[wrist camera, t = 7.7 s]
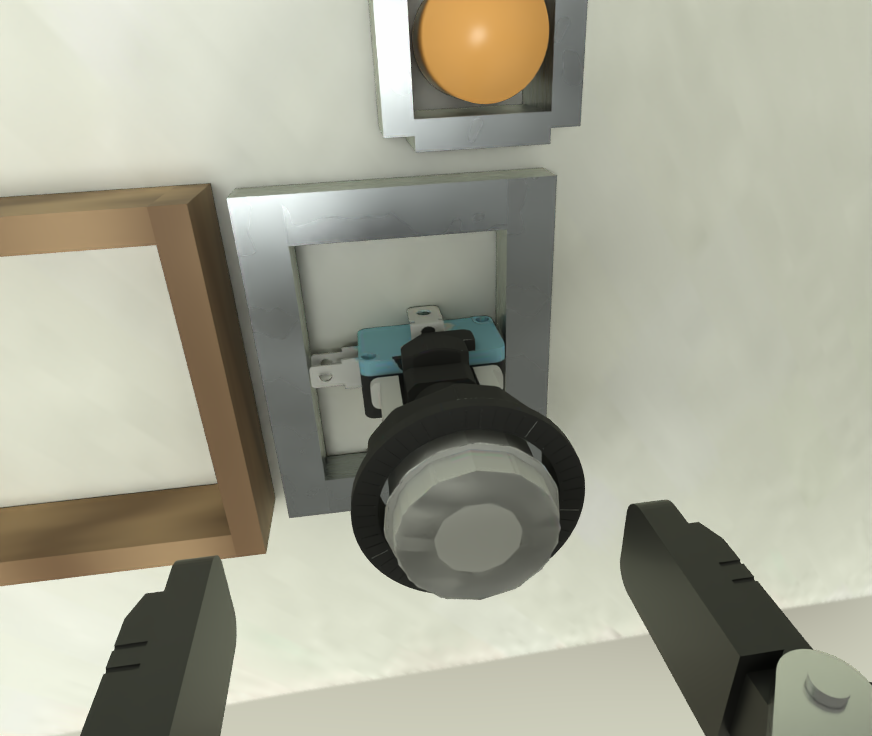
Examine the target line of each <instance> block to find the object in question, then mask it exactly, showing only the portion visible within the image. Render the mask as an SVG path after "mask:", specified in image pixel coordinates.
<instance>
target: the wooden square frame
mask: <svg viewBox="0 0 872 736" xmlns="http://www.w3.org/2000/svg"><path fill="white" fill-rule="evenodd" d="M149 245H157V249H158V253H159V257H160V260H161V264H162V268H163V272H164V276H165V280H166V284H167V288H168V292H169V295H170V299H171V303H172V307H173V311H174V315H175V319H176V323H177V327H178V330H179V334H180V338H181V342H182V346H183V350H184V354H185V358H186V362H187V366H188V369H189V373H190V377H191V381H192V385H193V389H194V393H195V397H196V401H197V404H198V408H199V412H200V416H201V420H202V424H203V428H204V432H205V436H206V440H207V443H208V447H209V451H210V455H211V459H212V463H213V467H214V471H215V475H216V478H217V482H218V484H213V485H204V486H195V487H186V488H177V489H168V490H159V491H150V492H141V493H133V494H124V495H115V496H106V497H97V498H88V499H79V500H70V501H61V502H52V503H43V504H34V505H25V506H16V507H7V508H0V586H6V585H14V584H22V583H31V582H39V581H47V580H55V579H63V578H71V577H79V576H88V575H96V574H104V573H112V572H120V571H128V570H136V569H144V568H153V567H161V566H169V565H173V564H174V562H175V561H177V560H183V559H191V558H199V557H207V556H215V555H218V556H219V557H220V559H226V558H234V557H242V556H250V555H258V554H266V551H267V545H268V539H269V533H270V527H271V522H272V516H273V510H274V504H275V495H274V490H273V485H272V480H271V475H270V470H269V466H268V461H267V456H266V451H265V446H264V441H263V436H262V432H261V427H260V422H259V417H258V412H257V407H256V403H255V398H254V393H253V388H252V383H251V378H250V374H249V369H248V364H247V359H246V354H245V349H244V344H243V340H242V335H241V330H240V325H239V320H238V315H237V311H236V306H235V301H234V296H233V291H232V286H231V282H230V277H229V272H228V267H227V262H226V257H225V252H224V248H223V243H222V238H221V233H220V228H219V223H218V219H217V214H216V209H215V204H214V199H213V194H212V189H211V185H210V183H209V184H194V185H179V186H164V187H149V188H134V189H119V190H104V191H89V192H74V193H59V194H44V195H29V196H14V197H0V257H3V256H16V255H30V254H43V253H56V252H69V251H83V250H96V249H109V248H123V247H136V246H149Z"/></svg>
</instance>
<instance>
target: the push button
mask: <svg viewBox="0 0 872 736" xmlns="http://www.w3.org/2000/svg"><path fill="white" fill-rule="evenodd" d="M420 312H430V314H428V315H418V313H420ZM407 314H408V319H409V323H410V324H405V325H396V326H386V327H376V328H367V329H362V330H360V331H358V333H357V335H358V346H351V347H342V351H341V352H332V353H322V354H313V355H312V356H311V364H312V366H311V367H310V368H309V373H310V379H311V384H312V387H314V388H322V387H331V386H340V385H345V389H349V388H358V387H362V391H363V399H364V407H365V414H366V416H367V417H369V418H382V423H381V424H380V426H379V427H378V428H377V429H376V430H375V432H374V433H373V434H372V435H371V436H370V438H369V441H368V448H367V454H366V456H365V458H364V459H363V461H362V462H361V465H360V467H359V469H358V471H357V473H356V476H355V479H354V483H353V488H352V493H351V521H352V527H353V531H354V535H355V537H356V540H357V543H358V545H359V546H360V548H361V550H362V552H363V553H364V555H365V556H366V557H367V559H368V560H369V561H370V562H371V563H372V564H373V565H374V566H375V567H376V568H377V569H378V570H379V571H380V572H382V573H383V574H384V575H386V576H387V577H389V578H390V579H392V580H394V581H396V582H398V583H400V584H402V585H405V586H407V587H409V588H413V589H416V590H419V591H423V592H428V593H433V594H435V595H437V596H439V597H441V598H445V599H474V600H481V599H484V598H488V597H491V596H494V595H497V594H500V593H504V592H507V591H510V590H513V589H515V588H517V587H519V586H521V585H522V584H523V583H524V582H525V581H526V580H528V579H529V578H530V577H532V576H533V575H535V574H536V573H537V572H539V571H540V570H541V569H542V568H543V567H544V565H545V564H546V563H547V562H548V561H549V559H550V558H551V557H552V556H553V555H554V554H555V553H556V552H557V551H558V550H559V549H560V548H561V547H562V546H563V545H564V543H565V542H566V540H567V539H568V538H569V536H570V535H571V533H572V531H573V530H574V528H575V526H576V524H577V522H578V520H579V517H580V514H581V511H582V508H583V503H584V496H585V479H584V474H583V469H582V466H581V463H580V460H579V458H578V456H577V454H576V452H575V450H574V448H573V447H572V445H571V443H570V442H569V440H568V439H567V437H566V436H565V434H564V433H563V432H562V431H561V430H560V429H559V428H558V427H557V426H556V425H555V424H554V423H553V422H552V421H551V420H549V419H548V418H547V417H545V416H544V415H542V414H541V413H539V412H537V411H535V410H533V409H531V408H529V407H528V406H526V405H525V404H523V403H522V402H520V401H519V400H517V399H516V398H514V397H513V396H511V395H510V394H508V393H507V392H506V391H505V344H504V341H503V339H502V337H501V336H500V334H499V332H498V330H497V328H496V327H495V325H494V323H493V320H492V319H491V318H490V317H488V316H474V317H471V318H463V319H454V320H444V321H443V320H442V315H441V313H440V310H439V307H436V306H425V307H415V308H410V309H408V310H407ZM324 359H329V360H331V361H332V364H328V365H321V361H322V360H324ZM328 374H332V378H331V379H330V380H328V381H323V380H321V378H320V376H319V375H328ZM526 441H528V442H530V443H531V444H533V445H534V446H536V447H537V448H538V449H539V450H540V451H541V453H542V462H540V461H538V460H537V459H535V458H534V457H533V455H532V453H531V450H530V448H529V446H528V444H527V442H526ZM387 479H388V486H389V499H388V501H387V504H386V505H385V503H384V502H383V500H382V498H381V496H380V495H381V492H382V489H383V487H384V485H385V482H386V480H387Z"/></svg>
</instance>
